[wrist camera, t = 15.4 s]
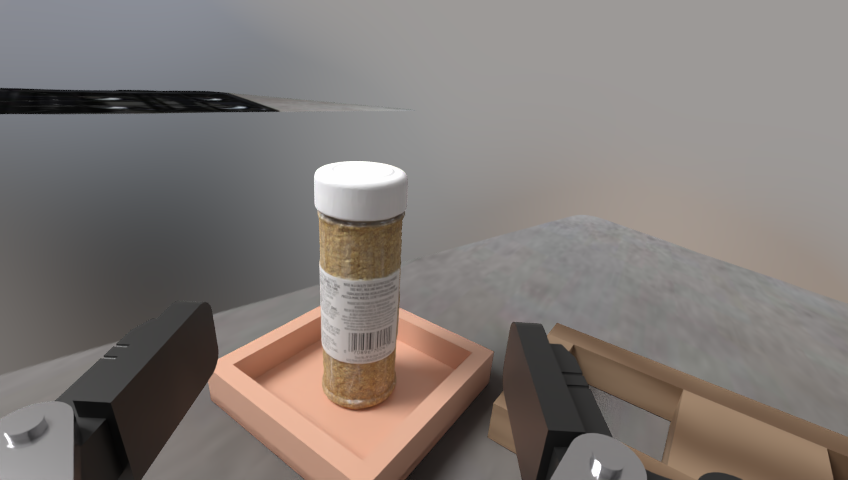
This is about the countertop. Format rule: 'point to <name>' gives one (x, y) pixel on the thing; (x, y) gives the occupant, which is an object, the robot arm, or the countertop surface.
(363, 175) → the sprinkles bottle
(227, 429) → the countertop surface
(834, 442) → the walnut rack
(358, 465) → the terracotta tray
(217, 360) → the robot arm
